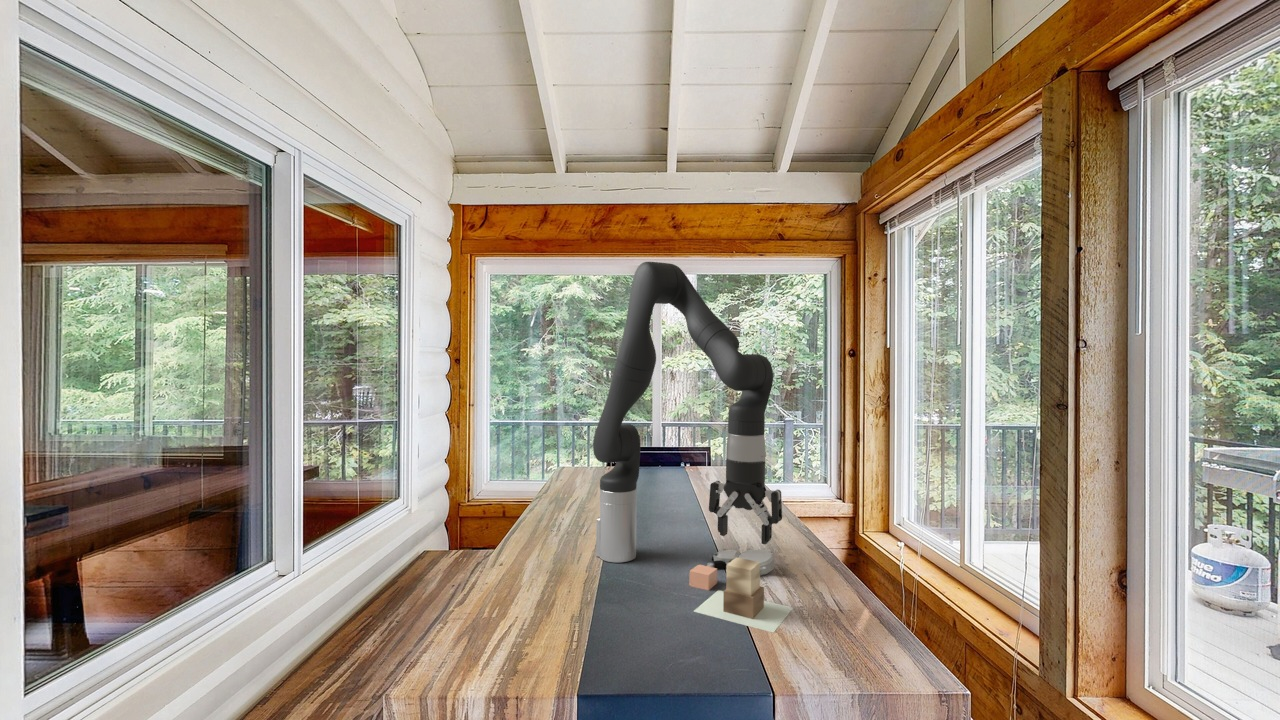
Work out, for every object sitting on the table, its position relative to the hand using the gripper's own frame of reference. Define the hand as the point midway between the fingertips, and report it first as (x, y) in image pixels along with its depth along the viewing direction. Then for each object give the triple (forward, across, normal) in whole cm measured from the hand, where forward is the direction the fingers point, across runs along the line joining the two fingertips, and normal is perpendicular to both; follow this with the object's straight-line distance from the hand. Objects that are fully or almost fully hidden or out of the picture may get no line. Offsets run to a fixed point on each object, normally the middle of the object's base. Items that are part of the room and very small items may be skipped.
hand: (744, 539), depth 113 cm
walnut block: (+14, 0, 0) cm, 14 cm away
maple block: (+10, 0, 0) cm, 10 cm away
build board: (+15, 0, 0) cm, 15 cm away
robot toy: (+16, -9, +22) cm, 28 cm away
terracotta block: (+15, -12, +7) cm, 20 cm away
